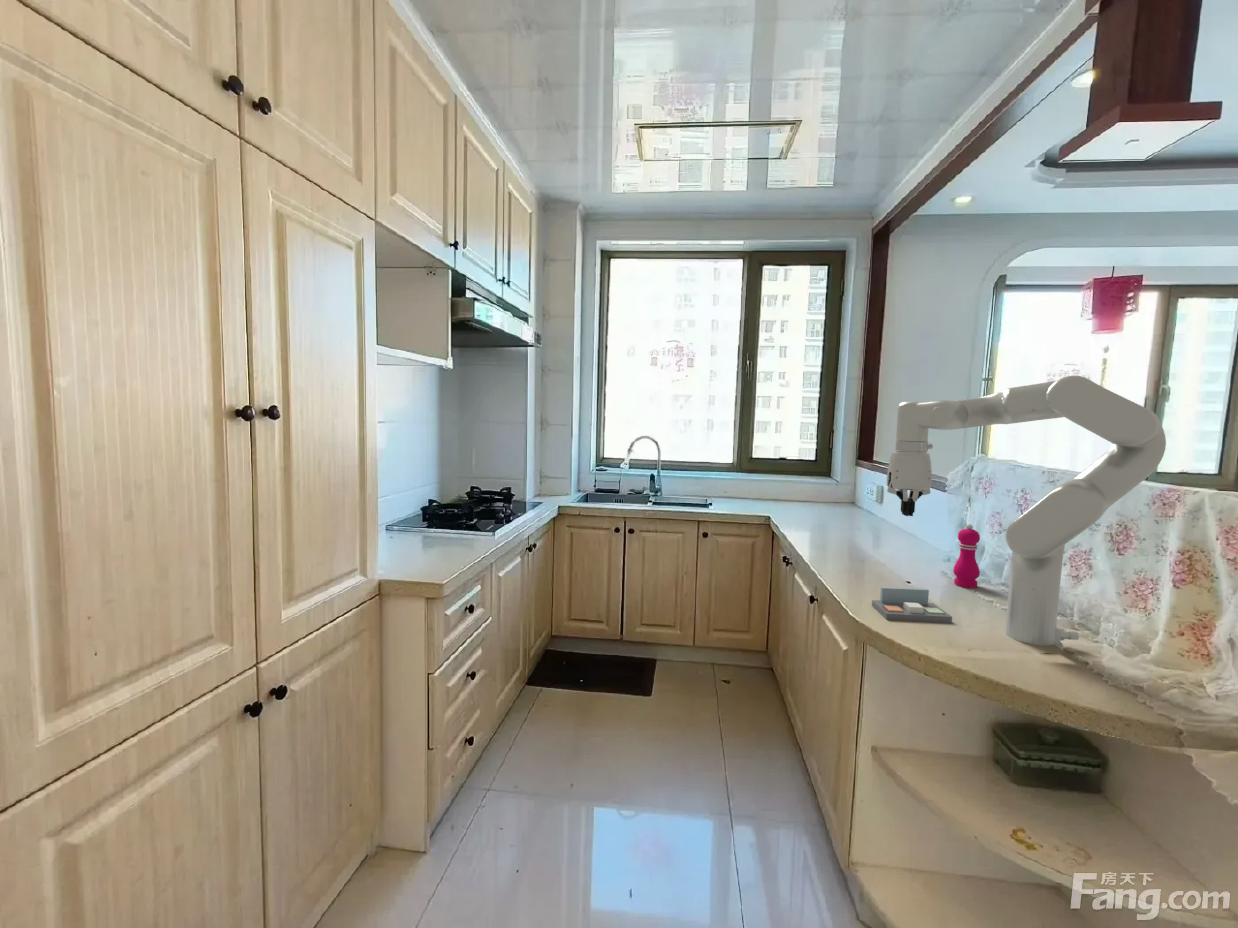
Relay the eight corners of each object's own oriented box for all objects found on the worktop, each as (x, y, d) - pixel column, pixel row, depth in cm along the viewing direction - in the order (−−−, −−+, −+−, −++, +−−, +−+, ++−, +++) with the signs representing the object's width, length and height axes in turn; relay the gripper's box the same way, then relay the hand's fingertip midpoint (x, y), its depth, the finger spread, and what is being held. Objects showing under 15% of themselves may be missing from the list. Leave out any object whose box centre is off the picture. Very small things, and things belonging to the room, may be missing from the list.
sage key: (936, 618, 144) (937, 607, 143) (943, 624, 140) (944, 612, 140) (922, 618, 144) (923, 607, 144) (928, 623, 141) (929, 612, 140)
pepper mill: (983, 589, 171) (987, 526, 169) (957, 587, 172) (961, 525, 171) (973, 582, 178) (977, 522, 176) (948, 581, 179) (952, 521, 178)
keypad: (932, 613, 149) (933, 588, 148) (951, 628, 138) (953, 601, 138) (871, 610, 150) (872, 586, 150) (885, 624, 140) (887, 598, 139)
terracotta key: (897, 616, 145) (897, 606, 145) (902, 621, 141) (903, 610, 141) (883, 616, 145) (883, 605, 145) (888, 621, 142) (888, 610, 141)
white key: (917, 613, 144) (917, 602, 144) (923, 618, 141) (923, 607, 140) (902, 613, 145) (903, 602, 144) (908, 618, 141) (909, 606, 141)
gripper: (933, 447, 149) (929, 513, 150) (877, 446, 150) (873, 512, 152) (947, 449, 141) (943, 518, 143) (887, 448, 143) (883, 516, 144)
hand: (907, 515), depth 147 cm, fingers closed
